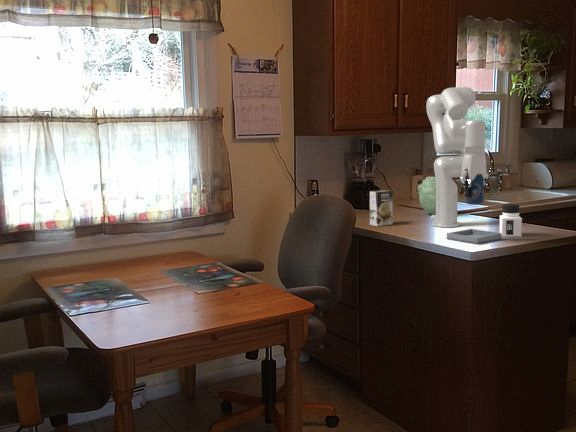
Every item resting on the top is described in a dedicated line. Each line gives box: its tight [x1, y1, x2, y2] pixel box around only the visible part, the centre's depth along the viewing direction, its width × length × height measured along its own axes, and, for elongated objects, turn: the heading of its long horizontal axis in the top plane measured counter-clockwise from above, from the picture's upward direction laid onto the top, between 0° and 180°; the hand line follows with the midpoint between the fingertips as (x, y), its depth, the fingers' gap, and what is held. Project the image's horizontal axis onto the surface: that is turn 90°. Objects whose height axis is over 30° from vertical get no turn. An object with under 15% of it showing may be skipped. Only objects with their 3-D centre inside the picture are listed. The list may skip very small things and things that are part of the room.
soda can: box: [464, 174, 485, 206], centre depth 245 cm, size 7×7×12 cm
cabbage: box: [417, 175, 436, 216], centre depth 313 cm, size 16×19×20 cm
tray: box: [446, 228, 503, 245], centre depth 247 cm, size 15×15×2 cm
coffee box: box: [369, 189, 394, 227], centre depth 289 cm, size 9×6×16 cm
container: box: [498, 202, 523, 237], centre depth 253 cm, size 8×8×13 cm
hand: (474, 195), depth 245 cm, fingers closed on soda can, 7 cm apart
